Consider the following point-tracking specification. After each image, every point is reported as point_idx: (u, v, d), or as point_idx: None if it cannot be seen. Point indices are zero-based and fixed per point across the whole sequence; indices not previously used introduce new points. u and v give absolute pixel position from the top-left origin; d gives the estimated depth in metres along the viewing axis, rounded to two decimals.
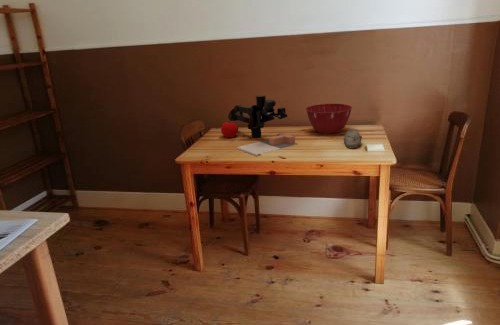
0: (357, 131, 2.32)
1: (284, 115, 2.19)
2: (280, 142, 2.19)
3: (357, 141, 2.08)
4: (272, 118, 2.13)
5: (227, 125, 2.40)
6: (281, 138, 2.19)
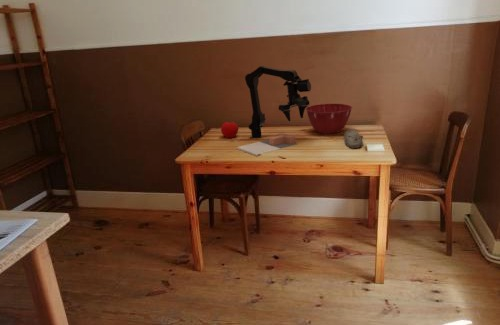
0: None
1: (301, 114, 2.26)
2: (280, 142, 2.19)
3: (359, 141, 2.08)
4: (288, 119, 2.21)
5: (227, 125, 2.40)
6: (281, 138, 2.19)
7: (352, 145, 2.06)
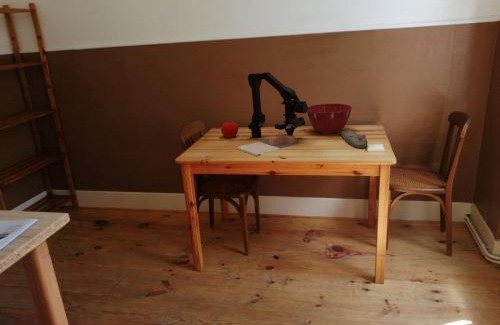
0: (352, 131, 2.33)
1: (290, 134, 2.25)
2: (280, 142, 2.19)
3: (364, 141, 2.08)
4: None
5: (227, 125, 2.40)
6: (281, 138, 2.19)
7: (359, 145, 2.05)
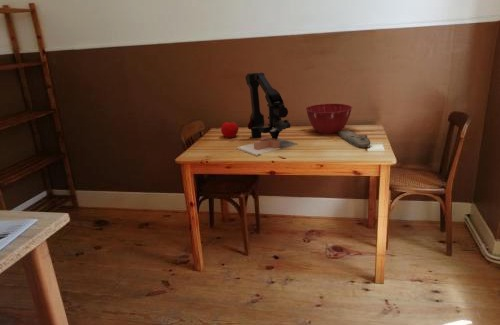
0: (350, 131, 2.33)
1: None
2: (265, 146, 2.13)
3: (367, 140, 2.08)
4: None
5: (227, 125, 2.40)
6: (266, 142, 2.13)
7: (363, 145, 2.05)
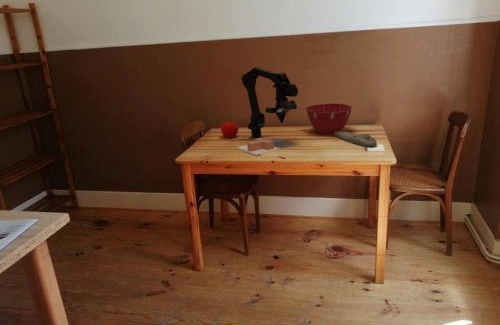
0: None
1: None
2: (258, 147, 2.11)
3: (373, 139, 2.10)
4: (280, 121, 2.21)
5: (227, 125, 2.40)
6: (259, 143, 2.11)
7: (371, 144, 2.06)
